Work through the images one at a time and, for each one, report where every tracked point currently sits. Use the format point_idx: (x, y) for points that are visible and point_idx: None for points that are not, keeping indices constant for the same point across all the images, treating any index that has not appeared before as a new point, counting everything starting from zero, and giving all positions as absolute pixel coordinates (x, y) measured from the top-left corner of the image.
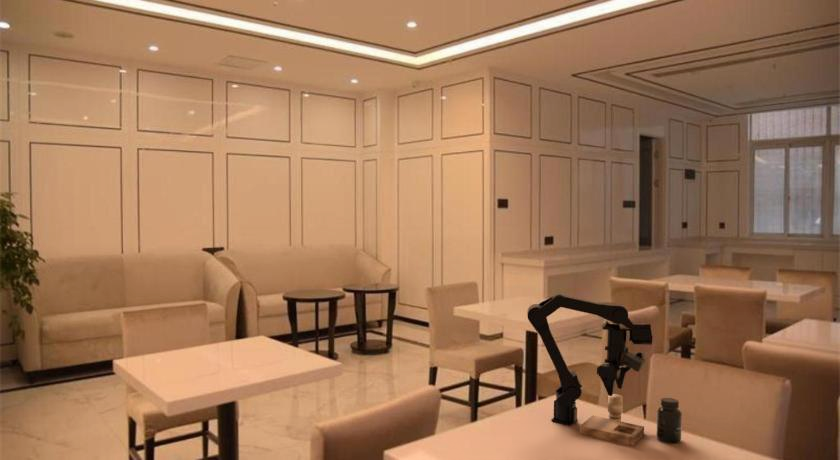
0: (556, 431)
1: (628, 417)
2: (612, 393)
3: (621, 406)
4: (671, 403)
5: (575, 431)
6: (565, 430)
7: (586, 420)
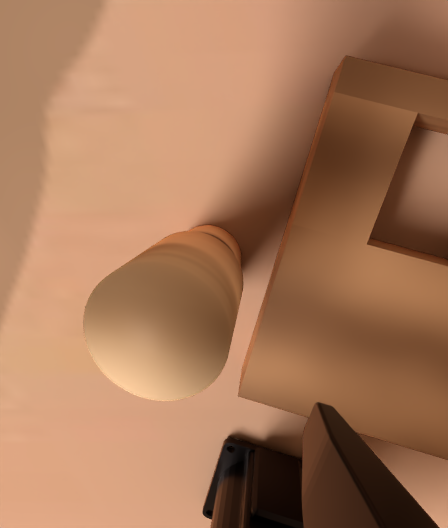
0: None
1: (61, 185)
2: (348, 426)
3: (205, 250)
4: None
5: None
6: None
7: None
